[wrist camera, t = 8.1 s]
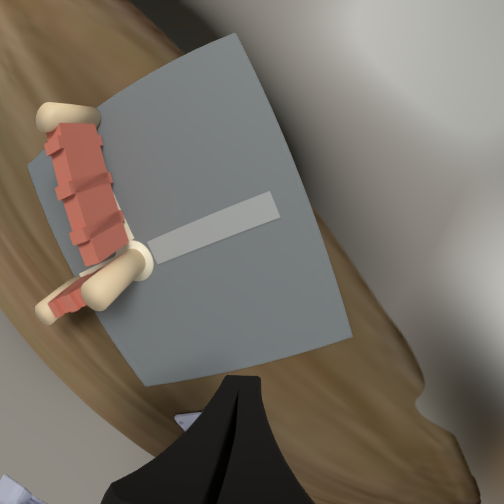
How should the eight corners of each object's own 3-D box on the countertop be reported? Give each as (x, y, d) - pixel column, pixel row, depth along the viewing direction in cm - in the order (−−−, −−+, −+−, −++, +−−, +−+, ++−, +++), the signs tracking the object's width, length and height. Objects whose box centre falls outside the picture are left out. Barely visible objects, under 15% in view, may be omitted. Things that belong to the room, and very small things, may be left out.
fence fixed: (140, 242, 21) (97, 276, 15) (152, 267, 21) (114, 306, 15) (69, 276, 22) (27, 309, 17) (80, 296, 23) (41, 332, 17)
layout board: (351, 334, 22) (352, 337, 21) (146, 384, 26) (145, 387, 25) (236, 34, 15) (235, 32, 15) (29, 165, 19) (26, 165, 19)
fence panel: (135, 238, 20) (99, 265, 15) (115, 244, 20) (77, 270, 16) (98, 102, 17) (53, 96, 12) (79, 113, 17) (33, 110, 12)
